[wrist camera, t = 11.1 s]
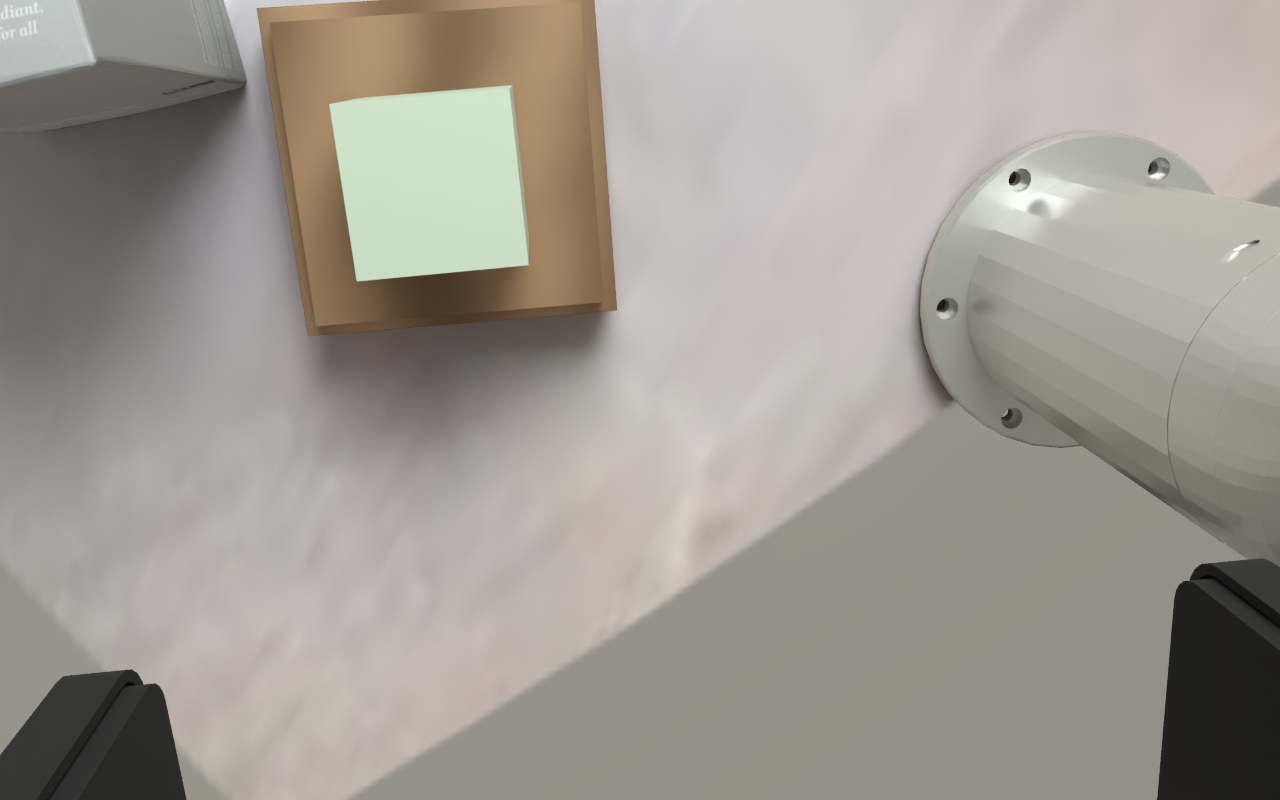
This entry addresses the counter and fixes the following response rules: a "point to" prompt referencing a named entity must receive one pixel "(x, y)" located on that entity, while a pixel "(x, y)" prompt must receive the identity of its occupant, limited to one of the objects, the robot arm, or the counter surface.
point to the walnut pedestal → (428, 62)
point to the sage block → (432, 182)
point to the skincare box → (110, 59)
